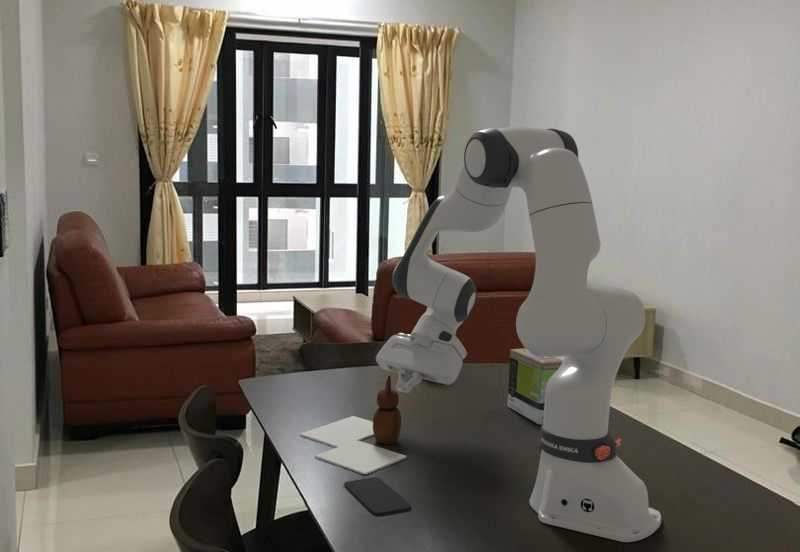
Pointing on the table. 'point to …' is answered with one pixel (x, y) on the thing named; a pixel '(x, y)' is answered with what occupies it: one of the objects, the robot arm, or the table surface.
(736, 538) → the table surface
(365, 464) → the mat side
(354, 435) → the mat front
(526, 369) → the tea box
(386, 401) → the wooden figurine
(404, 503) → the phone
